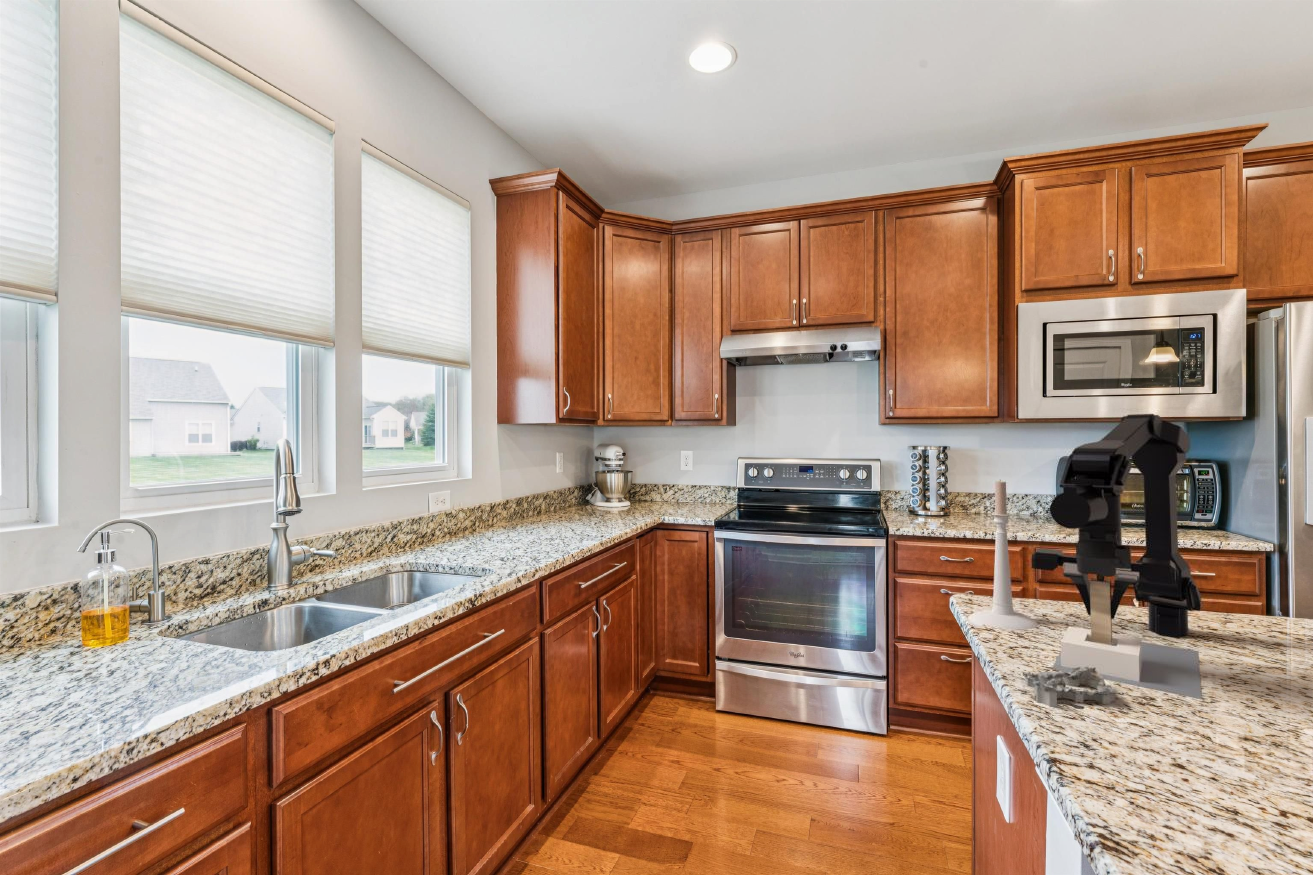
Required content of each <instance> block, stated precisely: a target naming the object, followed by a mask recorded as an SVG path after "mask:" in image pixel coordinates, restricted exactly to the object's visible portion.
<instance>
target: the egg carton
mask: <svg viewBox="0 0 1313 875" xmlns="http://www.w3.org/2000/svg"><path fill="white" fill-rule="evenodd" d="M1095 669H1096V668H1088V667H1083V668H1081V667H1078V668H1073V669H1072V671H1071V672H1067V671H1062V670H1058V671H1057V672H1048V671H1042V672H1036V673H1031V671H1030V672H1025V671H1021V673H1022V676H1023V677H1024V678H1025V685H1026V686H1027V687H1029V688H1030V687H1031V688H1034V691H1033V692H1034V701H1035V702H1036V703H1037V704H1043V705H1046V706H1048V707H1049V708H1058V705H1062V706H1063V705H1065V706H1068V707H1072V708H1074V709H1076V710H1084V709H1085V706H1083V705H1078V704H1074V703H1070V702H1066V701H1062V700H1058V699H1060V698H1061V699H1062V698H1063V699H1069V700H1071V701H1073V702H1076V703H1084V701H1085V700H1092V701H1096V702H1099V703H1102V704H1103V705H1104V704H1106V705H1111V702H1116V695H1118V696H1119V695H1120V694H1119V693H1118V692H1117V690H1116V689H1115V688H1114V689H1113V688H1112V686H1111V685H1108V684H1107V685H1106V683H1105V679H1103V678H1102V676H1101V675H1100V674H1098V672H1097V671H1096V670H1095ZM1080 685H1086V686H1088V687H1092V688H1096V689H1097V690H1095V689H1091V691H1090V690H1087V689H1086V688H1084V689H1083V690H1077V689H1076V688H1073V687H1079V686H1080ZM1068 686H1069V687H1068Z"/></svg>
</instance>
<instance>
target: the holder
mask: <svg viewBox="0 0 1313 875" xmlns="http://www.w3.org/2000/svg"><path fill="white" fill-rule="evenodd" d="M1142 642H1143V638H1142V637H1137V636H1129V635H1124V634H1120V633H1119V634H1118V633H1114V632H1112V643H1111V645H1110V644H1105V643H1099V642H1093V641H1091V629H1087V628H1081V627H1076V626H1068V627H1067V628H1066V631H1065V633H1064V634H1063V637H1062V639H1061V640H1060V652H1061V666H1064V667H1069V668H1078V667H1081V668H1083V667H1088V668H1096V669H1095V670H1096V671H1097V672H1098V673H1099V674H1104V675H1108V676H1113V677H1118V678H1123V679H1128V680H1133V681H1138V682H1139V681H1140V675H1141V668H1142Z"/></svg>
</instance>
